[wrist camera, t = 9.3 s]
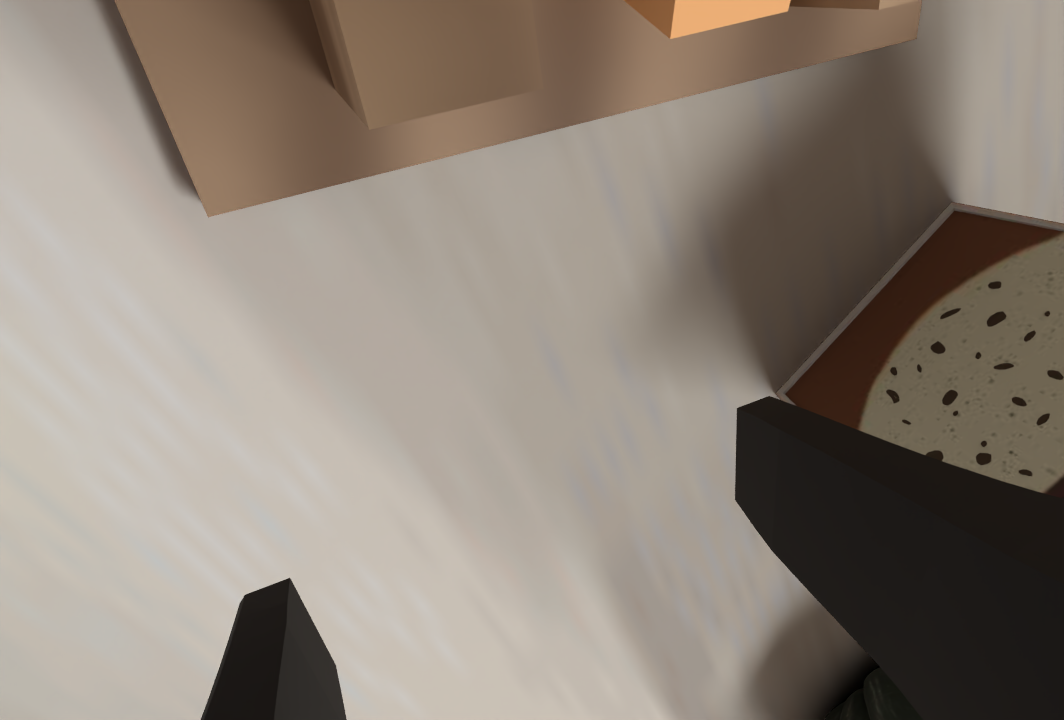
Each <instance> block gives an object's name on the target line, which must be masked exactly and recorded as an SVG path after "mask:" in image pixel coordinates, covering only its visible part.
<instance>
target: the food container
mask: <svg viewBox="0 0 1064 720" xmlns="http://www.w3.org/2000/svg"><path fill="white" fill-rule="evenodd" d="M776 395H777V396H778V397H779V398H780V399H781V400H782V401H785V402H787V403H790V404H793V405H795V406H798V407H801V408H803V409H806V410H809V411H811V412H814V413H816V414H819V415H821V416H824V417H827V418H829V419H832V420H834V421H837V422H839V423H842V424H844V425H847V426H849V427H852V428H855V429H857V430H860V431H862V432H865V433H867V434H870V435H873V436H875V437H878V438H880V439H883V440H886V441H888V442H891V443H894V444H896V445H899V446H902V447H904V448H907V449H910V450H912V451H915V452H918V453H921V454H923V455H926V456H929V457H932V458H935V459H937V460H940V461H943V462H946V463H949V464H952V465H955V466H958V467H961V468H964V469H967V470H970V471H973V472H976V473H979V474H982V475H985V476H988V477H991V478H994V479H997V480H1000V481H1004V482H1007V483H1010V484H1014V485H1017V486H1020V487H1024V488H1027V489H1030V490H1034V491H1037V492H1041V493H1045V494H1049V495H1052V496H1056V497H1060V498H1063V499H1064V224H1063V223H1058V222H1053V221H1048V220H1043V219H1037V218H1032V217H1027V216H1022V215H1017V214H1012V213H1006V212H1001V211H996V210H991V209H986V208H981V207H975V206H970V205H965V204H960V203H955V202H952V203H951V204H950V205H949V206H948V207H947V208H946V209H945V210H944V211H943V212H942V213H941V214H940V216H939V217H938V218H937V219H936V220H935V221H934V222H933V223H932V224H931V225H930V226H929V227H928V229H927V230H926V231H925V232H924V233H923V234H922V235H921V236H920V237H919V238H918V239H917V241H916V242H915V243H914V244H913V245H912V246H911V247H910V248H909V249H908V250H907V251H906V252H905V254H904V255H903V256H902V257H901V258H900V259H899V260H898V261H897V262H896V263H895V264H894V266H893V267H892V268H891V269H890V270H889V271H888V272H887V273H886V274H885V275H884V276H883V277H882V279H881V280H880V281H879V282H878V283H877V284H876V285H875V286H874V287H873V288H872V289H871V290H870V292H869V293H868V294H867V295H866V296H865V297H864V298H863V299H862V300H861V301H860V302H859V304H858V305H857V306H856V307H855V308H854V309H853V310H852V311H851V312H850V313H849V314H848V315H847V317H846V318H845V319H844V320H843V321H842V322H841V323H840V324H839V325H838V326H837V327H836V328H835V330H834V331H833V332H832V333H831V334H830V335H829V336H828V337H827V338H826V339H825V340H824V342H823V343H822V344H821V345H820V346H819V347H818V348H817V349H816V350H815V351H814V352H813V353H812V355H811V356H810V357H809V358H808V359H807V360H806V361H805V362H804V363H803V364H802V365H801V367H800V368H799V369H798V370H797V371H796V372H795V373H794V374H793V375H792V376H791V377H790V378H789V380H788V381H787V382H786V383H785V384H784V385H783V386H782V387H781V388H780V389H779V390H778V391H777V393H776Z"/></svg>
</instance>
